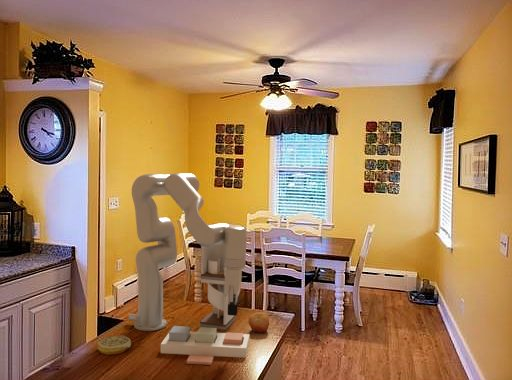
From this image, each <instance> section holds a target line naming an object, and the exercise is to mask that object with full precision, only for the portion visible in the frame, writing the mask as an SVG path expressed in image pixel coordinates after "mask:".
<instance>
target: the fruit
mask: <svg viewBox="0 0 512 380" xmlns="http://www.w3.org/2000/svg"><path fill="white" fill-rule="evenodd" d="M247 322H248V325H249V327H250V329H251V330H252V332H253V333H265V332H267V331H268V329H269V326H270V317H269V316H268V315H267V314H266V313H265V312H263V311H258V312H254V313H252V314H251V315H250V316H249V317H248V321H247Z"/></svg>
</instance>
